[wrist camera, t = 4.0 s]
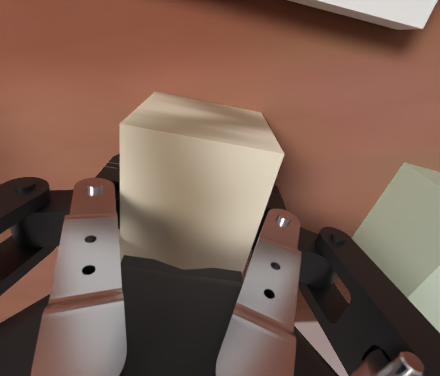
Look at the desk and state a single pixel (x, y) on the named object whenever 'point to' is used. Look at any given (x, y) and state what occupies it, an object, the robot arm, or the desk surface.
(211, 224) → the birch brick
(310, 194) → the desk surface
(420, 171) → the sage brick
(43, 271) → the desk surface
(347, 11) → the tower base
